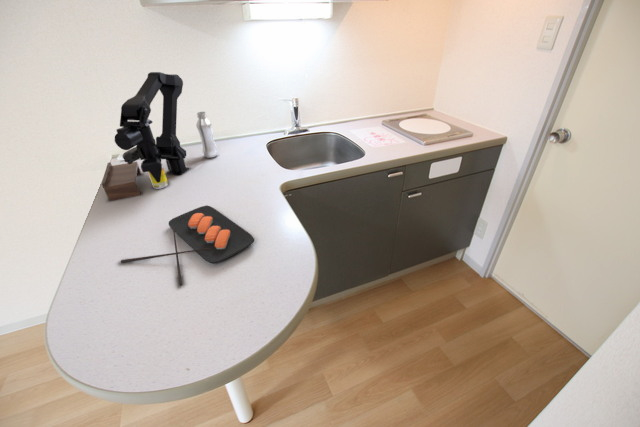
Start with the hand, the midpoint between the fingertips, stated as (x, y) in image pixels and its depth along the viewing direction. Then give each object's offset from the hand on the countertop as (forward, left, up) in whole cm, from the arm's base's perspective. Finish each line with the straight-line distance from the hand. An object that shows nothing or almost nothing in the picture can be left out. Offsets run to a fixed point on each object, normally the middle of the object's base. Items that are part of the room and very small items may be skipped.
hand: (158, 178), depth 118 cm
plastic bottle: (-3, -30, -3) cm, 31 cm away
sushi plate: (-33, +30, -3) cm, 45 cm away
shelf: (+13, +3, -3) cm, 14 cm away
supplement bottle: (0, 0, -3) cm, 3 cm away
